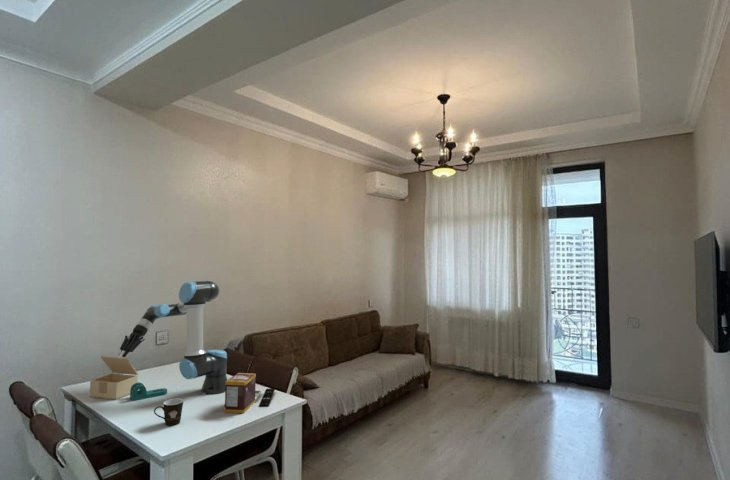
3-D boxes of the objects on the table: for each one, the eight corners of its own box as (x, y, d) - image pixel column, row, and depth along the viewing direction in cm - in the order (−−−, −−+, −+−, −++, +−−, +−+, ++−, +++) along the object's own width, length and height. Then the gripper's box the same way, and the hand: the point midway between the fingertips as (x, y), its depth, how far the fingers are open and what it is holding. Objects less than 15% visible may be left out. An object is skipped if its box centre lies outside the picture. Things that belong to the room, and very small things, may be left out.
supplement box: (255, 402, 210) (256, 373, 211) (243, 413, 194) (244, 382, 195) (237, 401, 211) (238, 372, 212) (224, 412, 196) (225, 381, 196)
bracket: (132, 401, 209) (132, 386, 209) (130, 398, 214) (130, 383, 214) (168, 394, 220) (168, 380, 221) (165, 391, 225) (166, 377, 226)
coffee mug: (185, 419, 186) (186, 398, 187) (177, 427, 177) (178, 405, 178) (161, 419, 186) (162, 398, 186) (152, 427, 177) (153, 405, 178)
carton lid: (126, 359, 217) (127, 358, 217) (100, 356, 221) (101, 356, 221) (137, 375, 225) (138, 374, 225) (112, 372, 229) (113, 371, 229)
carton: (115, 400, 210) (116, 383, 211) (89, 396, 214) (89, 380, 215) (136, 391, 224) (137, 375, 224) (111, 388, 228) (112, 373, 228)
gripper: (154, 331, 240) (130, 366, 223) (136, 330, 243) (112, 364, 226) (147, 324, 235) (123, 359, 218) (130, 323, 239) (104, 357, 222)
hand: (117, 361), depth 222 cm, fingers closed
